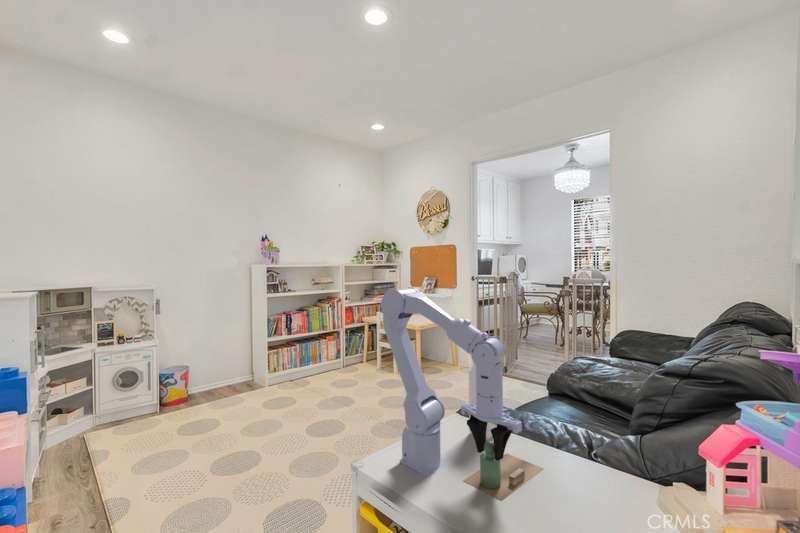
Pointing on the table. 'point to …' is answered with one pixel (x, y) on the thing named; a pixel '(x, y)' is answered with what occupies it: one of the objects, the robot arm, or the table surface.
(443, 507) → the table surface
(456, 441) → the table surface
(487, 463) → the bottle
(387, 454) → the table surface
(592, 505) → the table surface
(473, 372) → the milk
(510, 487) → the rest board
